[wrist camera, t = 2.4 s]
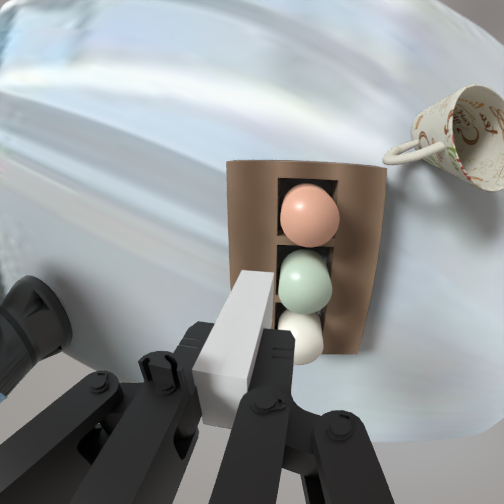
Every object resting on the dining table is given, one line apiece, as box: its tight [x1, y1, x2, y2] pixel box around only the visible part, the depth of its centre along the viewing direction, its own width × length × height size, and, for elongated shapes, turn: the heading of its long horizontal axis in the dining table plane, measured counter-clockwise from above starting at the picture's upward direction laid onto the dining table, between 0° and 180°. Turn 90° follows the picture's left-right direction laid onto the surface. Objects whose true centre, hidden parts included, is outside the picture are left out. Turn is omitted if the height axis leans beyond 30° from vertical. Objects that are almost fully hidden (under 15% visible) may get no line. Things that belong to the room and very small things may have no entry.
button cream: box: [278, 309, 323, 365], centre depth 26 cm, size 4×4×4 cm
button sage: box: [278, 249, 332, 314], centre depth 24 cm, size 4×4×4 cm
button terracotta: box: [280, 183, 340, 247], centre depth 22 cm, size 4×4×4 cm
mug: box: [382, 85, 504, 192], centre depth 18 cm, size 8×13×10 cm, turn 117°
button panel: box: [226, 160, 387, 354], centre depth 27 cm, size 14×20×4 cm
